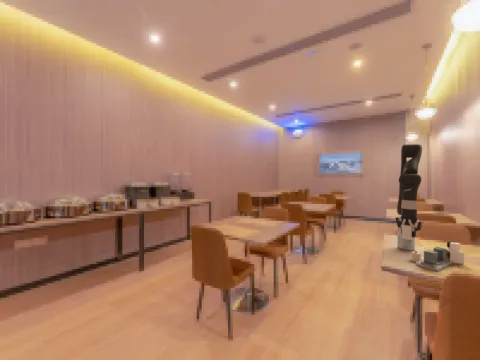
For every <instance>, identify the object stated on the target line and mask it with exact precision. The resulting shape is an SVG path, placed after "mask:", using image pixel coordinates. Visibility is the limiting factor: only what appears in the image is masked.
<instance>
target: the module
mask: <svg viewBox="0 0 480 360" xmlns="http://www.w3.org/2000/svg"><path fill="white" fill-rule="evenodd" d="M413 226H414V225H413ZM402 238H404V239H408V240H412V239H415V240H416V237H414V238H413V237H412V227H411V226H410V225H408V224H407V225H406V224H405V225H402Z"/></svg>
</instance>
